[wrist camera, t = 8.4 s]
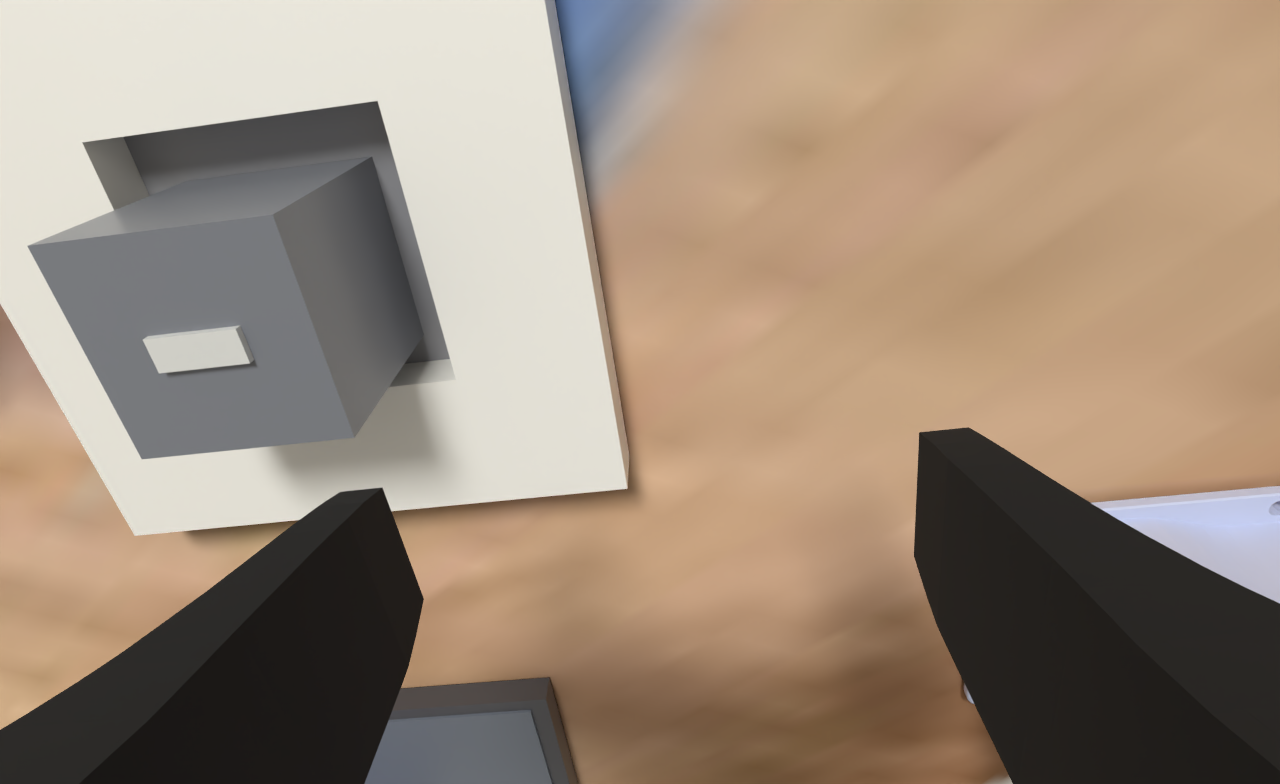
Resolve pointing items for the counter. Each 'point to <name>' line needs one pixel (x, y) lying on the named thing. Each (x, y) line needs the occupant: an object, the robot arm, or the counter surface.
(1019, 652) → the robot arm
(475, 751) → the phone
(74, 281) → the block
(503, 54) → the white square board
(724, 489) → the counter surface
